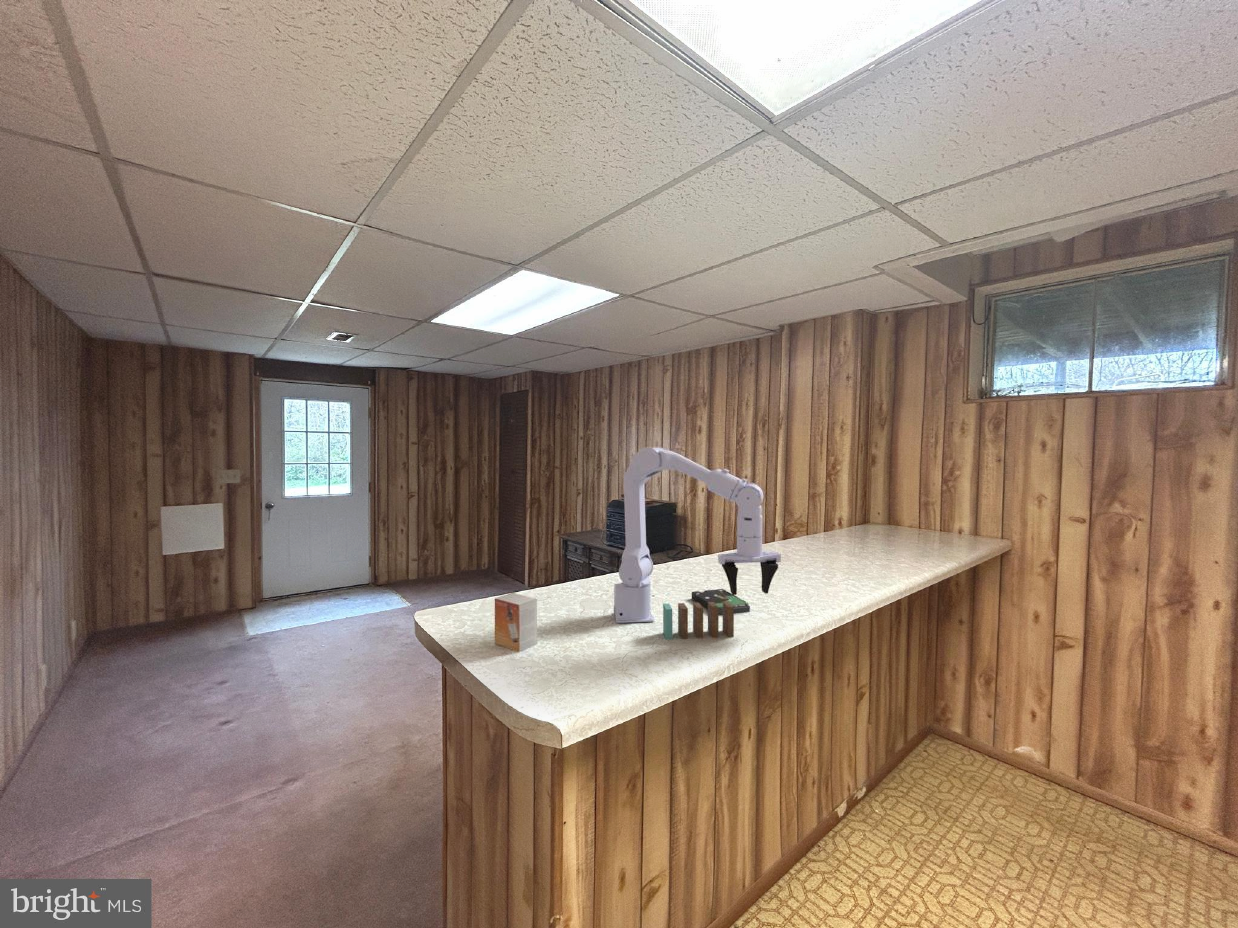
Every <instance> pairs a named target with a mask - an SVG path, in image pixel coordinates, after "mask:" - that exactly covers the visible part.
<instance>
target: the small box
mask: <svg viewBox="0 0 1238 928" xmlns="http://www.w3.org/2000/svg"><path fill="white" fill-rule="evenodd" d="M494 644H496V645H499V646H501V645H502V646H501V647H503V648H507V649H509V650H512V651H515V652H517V653H520V652H523V651H524V650H527V649H529V648H531V647H534V646H536V645H537V644H538V598H536V597H531V596H526V595H523V594H519V593H515V592H510V593H507V594H504V595H501V596H498V597H495V598H494ZM535 644H536V645H535Z"/></svg>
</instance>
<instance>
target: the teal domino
mask: <svg viewBox="0 0 1238 928" xmlns="http://www.w3.org/2000/svg"><path fill="white" fill-rule="evenodd" d="M662 607H663V608H662V614H663V616H662V622H663V623H662V629H663V631H662V632H663V635H664V638H665V640H668V641H669V640H673V608H672V606H671V605H670V603H663V604H662Z"/></svg>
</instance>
